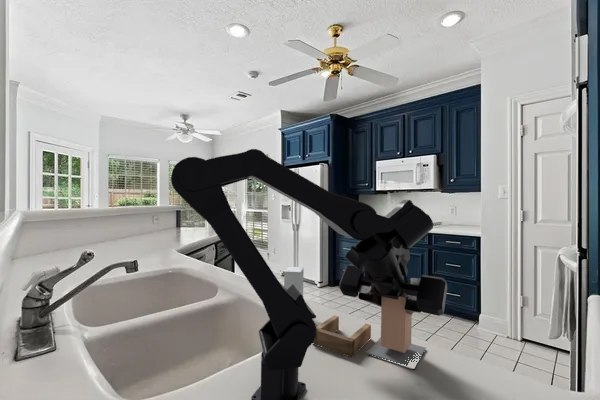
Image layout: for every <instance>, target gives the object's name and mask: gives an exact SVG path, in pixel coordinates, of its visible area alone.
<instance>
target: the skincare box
mask: <svg viewBox="0 0 600 400" xmlns="http://www.w3.org/2000/svg"><path fill="white" fill-rule="evenodd" d="M304 271H305V268H304V267H301V266H288V268H286V269H285V270H284V275H283V276H284V278H283V281H284V283H283V286H284V287H285V288H286V289H288V288H289V287H290V286H291V285H292V284H294V286H295V287H296V288H297V289H298V291H299V292H300V293H301V295H302V296H303V297H304V274H305V273H304Z"/></svg>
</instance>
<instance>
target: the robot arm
mask: <svg viewBox="0 0 600 400" xmlns="http://www.w3.org/2000/svg"><path fill="white" fill-rule="evenodd" d="M248 179H252V180H255V181H257V182H258V183H260V184H263V185H264V186H266V187H268V188H270V189H272V190H273V191H275V192H276V193H279V194H280V195H282V196H284V197H286V198H288V199H290V200H291V201H293V202H295V203H296V204H298V205H300V206H302V207H305V208H306V209H308V210H309V211H311V212H313V213H314V214H315V215H317V216H318V217H319V218H320V219H321V220H322V221H323V222H324V223H325V224H326V225H327V226H329V227H330V228H332V230H333V231H335V232H336V233H337V234H339V235H341V236H344V237H347V238H349V239H354V240H357V243H355V245H352V246H350V249H349V250H348V251H347V252H346V254H345V259H346V260H347V261H348V262H349V264H347V265H346V266H345V268H344V271H343V272H342V276H341V279H340V281H339V284H338V286H339V287H338V288H339V290H340V292H341V294H342V295H343V296H347V297H351V298H358V299H359V300H360V301H364V302H367V303H370V304H371V305H375V306H378V307H379V308H381V303H382V297H387V298H392V299H396V300H398V298H399V297H402V298H405V295H406V296H407V299H406V304H405V308H404V309H405V310H406V311H407V312H408V313H409V314H411V315H412V316H413V314H414V313H420V314H421V313H424V314H428V315H433V316H438V317H440V316H442V315H443V314H444V312H445V306H446V300H447V292H448V282H447V281H446V279H445V278H444V277H441V276H440V277H439V276H434V275H433V276H432V275H426V274H422V275H421V277H420V278H418V277H417V278H416V277H411V278H409V279H404V278H405V277H406V278H407V276H408V274H409V271H408V267H407V265H408V262H409V261H410V259H411V255H410V253H411V252H410V249H411V248H412V247H413V246H414V245H415V244H417V243H418V242H419V241H420V240H421V239H423V237H424V236H427V234H428V233H429V232H431V230H432V229H433V228H434V223H433V222H434V221H433V219H432V217H431V216H430V214H428V213H426V212H425V211H424V210H423V209H421V208H420V207H419V206H417V205H415V204H414V202H413V201H412V200H411V199H402V200H401V201H400V202H399V203H398V204H397V205H395V207H394V208H393V209H392V210H391V211H389V213H387V214H386V215H385V216H384V215H380V214H378V213H377V211H376V210H375V208H373V206H371V205H370V204H368V203H365V202H362V201H360V200H357V199H354V198H351V197H347V196H343V195H340V194H337V193H335V192H334V193H333V192H330V191H329V190H327V189H325V188H324V187H321V186H320V185H319V184H317V183H314V182H313V181H312V180H310V179H308V178H305V177H304V176H302V175H300V174H299V173H297V172H296V171H293V170H292V169H290V168H288V167H286V166H285V165H283V164H282V163H280V162H278V161H276V160H275V159H272V158H271V157H269V156H268V155H266V153H264V152H263V151H262V150H260V149H257V148H251V149H248V150H246V151H243V152H238V153H232V154H228V155H227V154H226V155H221V156H216V157H211V158H208V159H205V158H203V157H198V156H192V157H191V156H189V157H185V158H183V159H181V160H180V161H178V162H177V163H176V164H175V166H174V167H173V169H172V172H171V176H170V182H171V183H170V184H171V186H172V188H173V189H174V191H175V192H176V193H177V195H179V196H180V198H182V199H183V201H185V202H186V203H187V204H188V205H189V206H190V208H192V210H194V211H195V212H196V213H197V214H198V215H199V216H200V217H201V218H203V219H204V220H205V221H206V222H207V223H208V224H209V225H210V227H211V228H212V229H213V231H214V233H215V234H216V236H217V237H218V239H219V240H220V241H221V243H222V244H223V246H224V247H225V249H226V251H228V253H229V255H230V256H231V258H232V259H233V260H234V262H235V264H236V266H238V268H239V269H240V271H241V273H242V274H243V276H244V277H245V278H246V280H247V281H248V283H249V285H250V286H251V287H252V289H253V290H254V291H255V293H256V295H257V296H258V297H259V299H260V300H261V302H262V304H263V307H264V309H265V312H266V313H267V316H268V318H269V320H267V321H266V322H265V324H264V325H262V327H260V329H259V330H258V336H259V340H260V341H259V342H260V345H261V348H262V351H261V355H260V356H261V357H260V358H261V359H260V386H259V387H258V388H257V389H256V391H255V392H254V393H253V394H252V396H251V400H300V398H301V396H302V395H303V393H304V392H305V389H306V387H307V384H306V383H305V382H303V381H300V380H299V368H301V367H302V365H303V363H304V361H305V360H304V358H305V357H306V353H307V351H308V349H309V348H310V347H311V345H313V344H312V343H313V341H314V339H315V336H316V332H317V328H316V327H317V325H316V323H315V321H314V319H316V318H317V315H316V314H315V312H313V310H312V308H310V306H309V305H308V303H307V302H306V301H305V299H304V295H303V296H302V295H301V293H300V292H299V291H298V289H297V288H296V287H295V286H294V284H292V285H291V286H290V287H289V288H288V289H286V288H285V287H284V284H282V283H281V282H280V280H279V279H278V278H277V277H276V275H275V274H274V272H273V271H272V269H271V267H270V266H269V264H268V263H267V261H266V259H264V257H263V255H262V254H261V253H260V251H259V250H258V248H257V246H256V244H255V243H254V242H253V240H252V239H251V237H250V236H249V234H248V232H247V231H246V230H245V228H244V227H243V225H242V224H241V222H240V221H239V219H238V218H237V216H236V214H235V212H233V210H232V208H231V205H230V203H229V201H228V199H227V197H226V193H225V191H224V189H223V187H224V186H229V185H231V184H235V183H238V182H241V181H245V180H248ZM364 274H365V275H364Z"/></svg>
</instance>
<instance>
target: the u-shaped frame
mask: <svg viewBox="0 0 600 400" xmlns="http://www.w3.org/2000/svg"><path fill="white" fill-rule="evenodd" d="M339 325H340V316H338V315H335V314H334V315H332V316H331V317H329V318H327V319H326V320H325V321H323V322H321V323H320V324H319V325H316V328H317V332H316V336H315V339H314V341H313V343H314V344H316V345H315V346H317V345H319V346H318V347H320V346H322V347H321V348H323V347H324V349H326V348H327V349H326V350H329V349H330V350H329V351H332V350H333V351H332V352H336V353H338V354H341V355H343V354H344V356H346V355H348V356H347V357H349V356H350V358H353V357H354V356H355V355H356V354H357V353H358V352H359V351H360V350H361V349H362V348H363V347H364V346H365V345H366V344H367V343H368V342H369V341H370V340H371V339H372V325H371V324H369V323H365V324H363V325H362V326H361V327H360V328H359V329H357V330H356V331H355V332H354V333H353V334H351V336H349V337H348V336H347V335H341V334H340V333H339V334H338V333H336V332H337V331H339V330H338V329H339V328H340V327H339ZM336 330H337V331H336ZM335 331H336V332H335ZM370 338H371V339H370ZM369 339H370V340H369ZM368 340H369V341H368ZM367 341H368V342H367ZM366 342H367V343H366ZM365 343H366V344H365ZM314 344H313V345H314ZM364 344H365V345H364ZM363 345H364V346H363ZM362 346H363V347H362ZM361 347H362V348H361ZM359 349H360V350H359ZM352 356H353V357H352Z"/></svg>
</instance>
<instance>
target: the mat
mask: <svg viewBox="0 0 600 400" xmlns="http://www.w3.org/2000/svg"><path fill="white" fill-rule="evenodd" d="M425 349H426V350H427V347H424V346H421V345H418V344H414V343H411V345H410V346H409V348H408V349H407V350H406V352H405V353H403V352H399V351H396V350H393V349H390V348H386V347H383V346H381V336H380V338H378V339H377V341H376V342H374V343H373V345H372V346H370V348H369V349H368V350H367V351H366V352H365V353H366V354H369V355H373V356H376V357H379V358H383V359H386V360H390V361H393V362H396V363H400V364H404V365H405V364H406V366H407V365H408V363H409V361H410V360H411V359H412V360H413V359H415V358H416V357H418V356H419V355H418V353H419V354H420V355H422V354H423V352H424V351H425V352H426V350H425ZM417 352H418V353H417ZM425 352H424V353H425ZM415 353H416V354H417V355H418V356H416V354H415ZM369 355H368V356H369ZM413 355H415V356H416V357H415V356H413ZM423 355H424V354H423ZM408 357H409V358H408ZM413 357H414V358H413ZM420 357H421V356H419V359H420ZM379 358H378V359H379ZM421 358H422V357H421ZM408 359H409V360H408ZM416 359H418V358H416ZM405 360H406V361H405ZM412 360H411V362H412ZM420 360H421V359H420ZM407 361H408V362H407ZM414 361H415V360H414ZM414 361H413V362H414ZM416 362H417V361H416Z"/></svg>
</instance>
